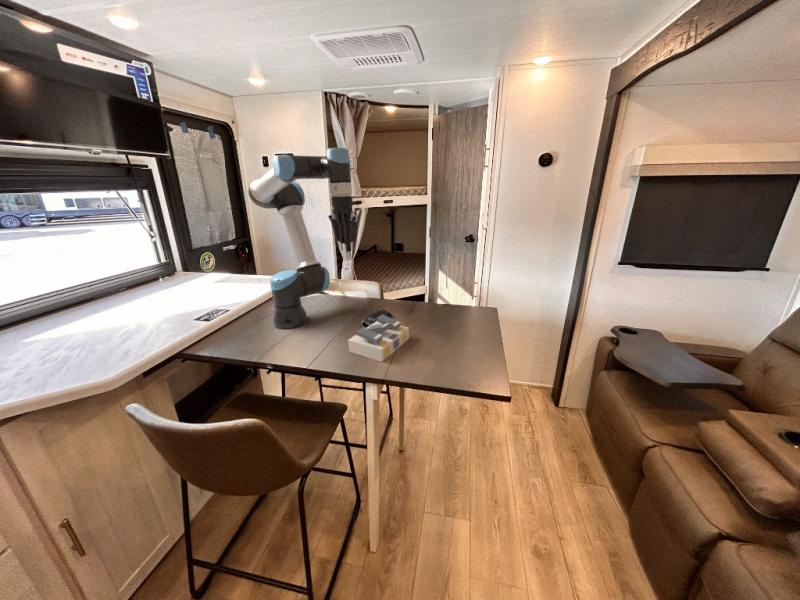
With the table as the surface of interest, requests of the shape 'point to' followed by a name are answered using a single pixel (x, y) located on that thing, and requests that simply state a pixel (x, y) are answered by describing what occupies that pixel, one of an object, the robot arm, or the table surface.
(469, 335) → the table surface
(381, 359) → the switch unit
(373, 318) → the electronic device
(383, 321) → the block
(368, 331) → the rocker
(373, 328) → the block
